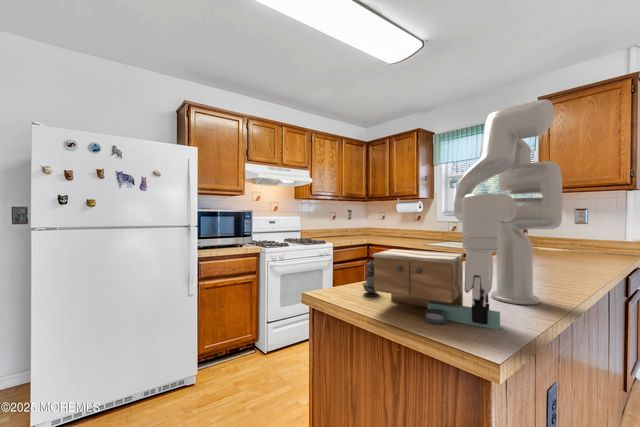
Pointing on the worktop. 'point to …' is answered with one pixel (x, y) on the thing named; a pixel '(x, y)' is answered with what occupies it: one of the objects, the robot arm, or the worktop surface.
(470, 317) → the teal blade
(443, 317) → the steel token
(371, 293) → the grey statuette
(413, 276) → the cabinet
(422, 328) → the worktop surface
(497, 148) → the robot arm
